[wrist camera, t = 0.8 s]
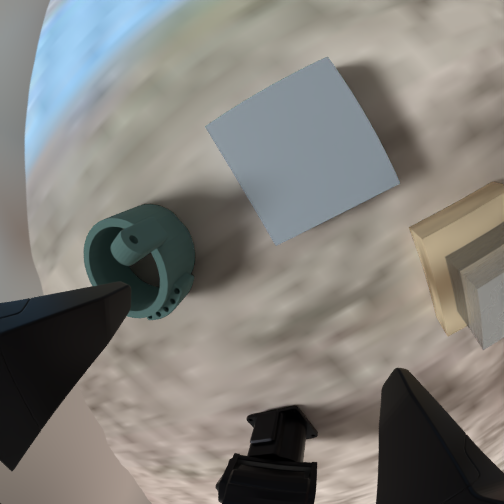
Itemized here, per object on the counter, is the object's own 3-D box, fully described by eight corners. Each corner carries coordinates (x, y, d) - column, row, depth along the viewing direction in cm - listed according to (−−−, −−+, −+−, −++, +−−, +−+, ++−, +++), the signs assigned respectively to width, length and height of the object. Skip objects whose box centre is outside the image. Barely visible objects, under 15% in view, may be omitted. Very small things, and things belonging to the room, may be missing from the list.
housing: (516, 274, 15) (554, 308, 9) (457, 311, 17) (487, 357, 12) (508, 218, 14) (555, 243, 9) (444, 256, 16) (483, 296, 11)
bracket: (121, 282, 26) (65, 328, 18) (117, 194, 23) (44, 219, 15) (200, 304, 25) (156, 367, 17) (206, 206, 22) (147, 241, 14)
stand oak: (510, 273, 18) (526, 286, 15) (436, 317, 21) (447, 336, 18) (492, 181, 16) (512, 187, 13) (408, 227, 19) (422, 239, 16)
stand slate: (388, 178, 18) (400, 183, 15) (281, 233, 21) (275, 245, 18) (325, 69, 16) (327, 56, 14) (219, 129, 19) (204, 126, 17)
